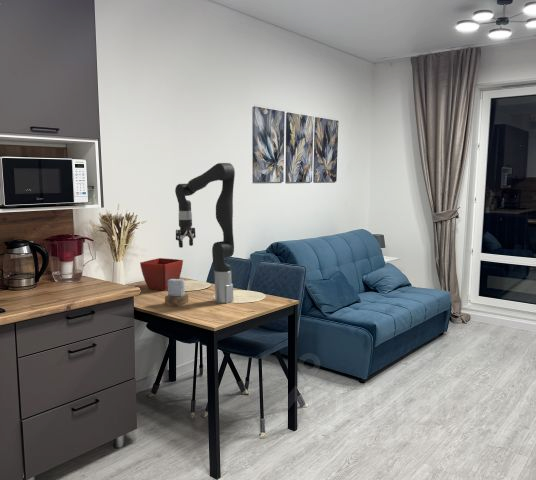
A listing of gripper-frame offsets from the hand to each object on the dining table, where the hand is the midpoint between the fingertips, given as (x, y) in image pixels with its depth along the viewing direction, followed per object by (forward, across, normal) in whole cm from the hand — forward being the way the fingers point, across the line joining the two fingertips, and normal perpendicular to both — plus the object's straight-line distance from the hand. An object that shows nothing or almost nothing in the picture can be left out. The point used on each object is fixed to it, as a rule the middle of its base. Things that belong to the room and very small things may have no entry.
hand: (186, 246), depth 282 cm
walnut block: (+29, -19, -9) cm, 36 cm away
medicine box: (+24, -19, -10) cm, 32 cm away
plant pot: (+28, +4, +24) cm, 37 cm away
